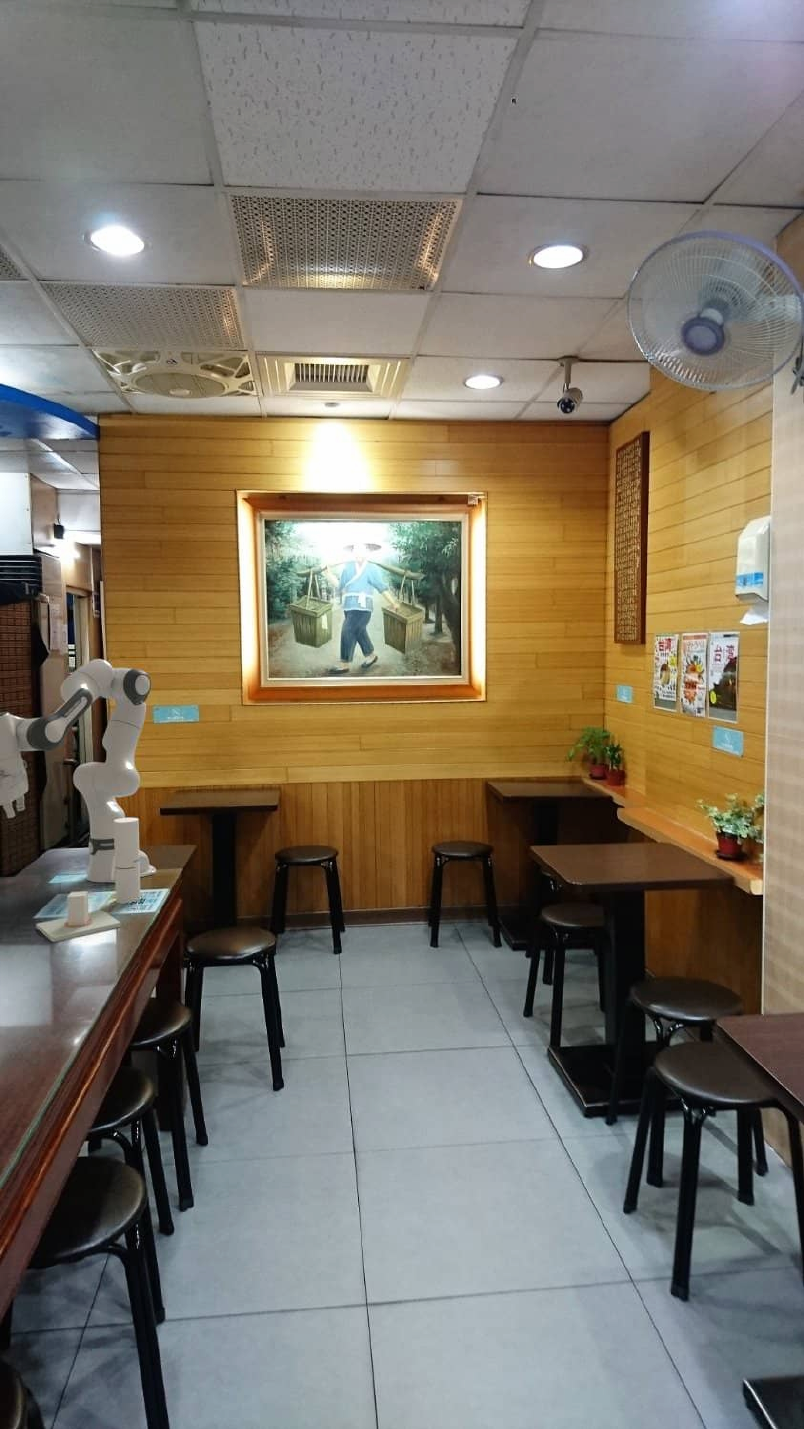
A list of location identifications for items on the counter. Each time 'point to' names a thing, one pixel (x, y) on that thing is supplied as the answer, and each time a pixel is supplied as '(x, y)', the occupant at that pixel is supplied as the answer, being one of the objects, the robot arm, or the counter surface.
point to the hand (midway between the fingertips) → (16, 813)
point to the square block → (77, 908)
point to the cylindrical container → (127, 860)
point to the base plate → (77, 926)
